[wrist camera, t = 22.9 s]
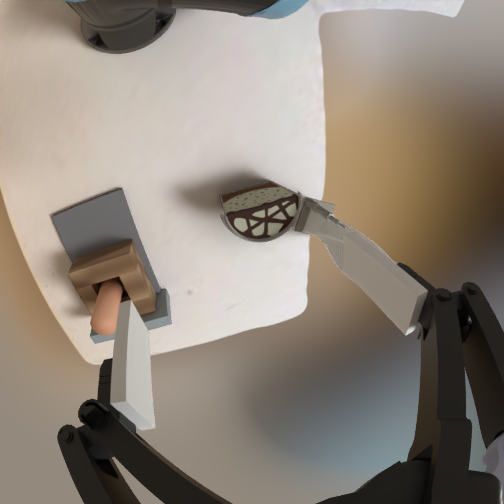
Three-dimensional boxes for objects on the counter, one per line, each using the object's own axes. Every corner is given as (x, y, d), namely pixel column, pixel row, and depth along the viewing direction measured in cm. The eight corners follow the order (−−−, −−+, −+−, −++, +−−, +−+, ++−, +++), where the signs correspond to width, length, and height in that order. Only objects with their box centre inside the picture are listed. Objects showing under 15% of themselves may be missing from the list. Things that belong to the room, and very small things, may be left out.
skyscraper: (339, 206, 54) (442, 278, 30) (325, 241, 57) (414, 326, 33) (305, 196, 51) (412, 274, 27) (291, 235, 54) (380, 330, 30)
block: (74, 259, 41) (67, 274, 37) (132, 239, 43) (129, 253, 39) (102, 309, 47) (98, 326, 43) (156, 294, 49) (156, 310, 45)
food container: (219, 229, 48) (231, 256, 40) (210, 197, 45) (222, 218, 37) (283, 210, 50) (308, 232, 42) (279, 178, 47) (304, 195, 39)
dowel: (99, 274, 43) (85, 318, 33) (118, 268, 44) (107, 312, 33) (109, 292, 45) (99, 337, 35) (127, 286, 46) (120, 332, 35)
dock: (49, 217, 37) (31, 236, 31) (127, 186, 40) (119, 200, 33) (100, 316, 49) (95, 343, 43) (169, 296, 52) (171, 323, 45)
